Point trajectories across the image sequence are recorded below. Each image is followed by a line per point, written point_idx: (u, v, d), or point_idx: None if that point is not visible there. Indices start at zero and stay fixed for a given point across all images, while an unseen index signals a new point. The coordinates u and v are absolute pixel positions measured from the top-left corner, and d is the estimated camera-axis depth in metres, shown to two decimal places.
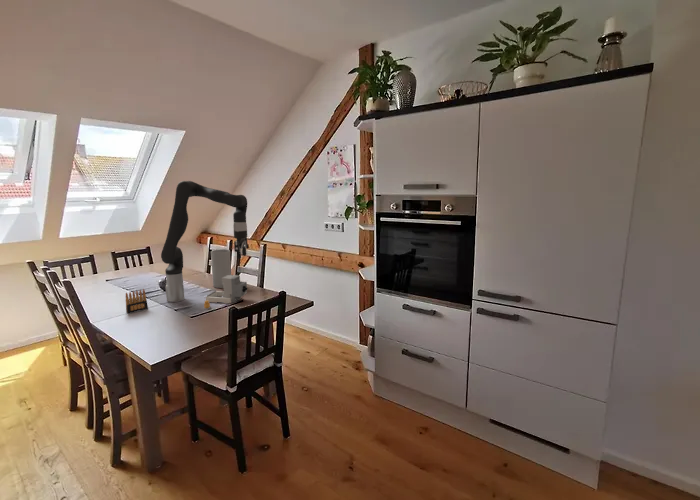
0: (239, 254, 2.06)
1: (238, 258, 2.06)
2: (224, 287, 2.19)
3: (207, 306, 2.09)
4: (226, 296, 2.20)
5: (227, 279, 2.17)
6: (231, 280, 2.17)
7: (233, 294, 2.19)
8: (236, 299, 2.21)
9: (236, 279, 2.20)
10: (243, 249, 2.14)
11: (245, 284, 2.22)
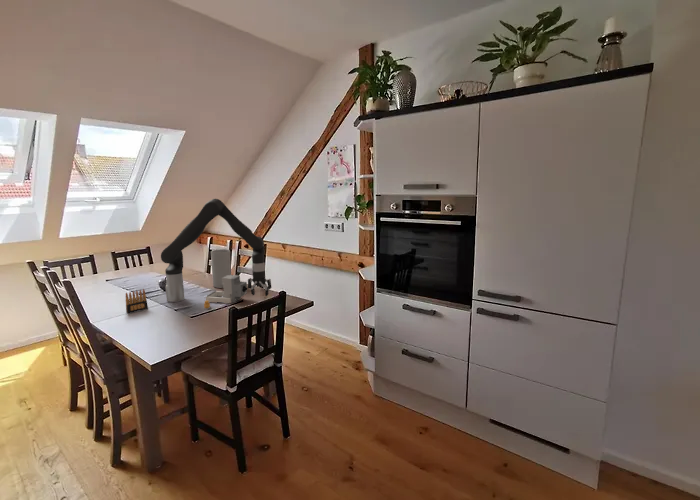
0: None
1: None
2: (224, 287, 2.19)
3: (207, 306, 2.09)
4: (226, 296, 2.20)
5: (227, 279, 2.17)
6: (231, 280, 2.17)
7: (233, 294, 2.19)
8: (236, 299, 2.21)
9: (236, 279, 2.20)
10: (253, 289, 2.19)
11: (245, 284, 2.22)
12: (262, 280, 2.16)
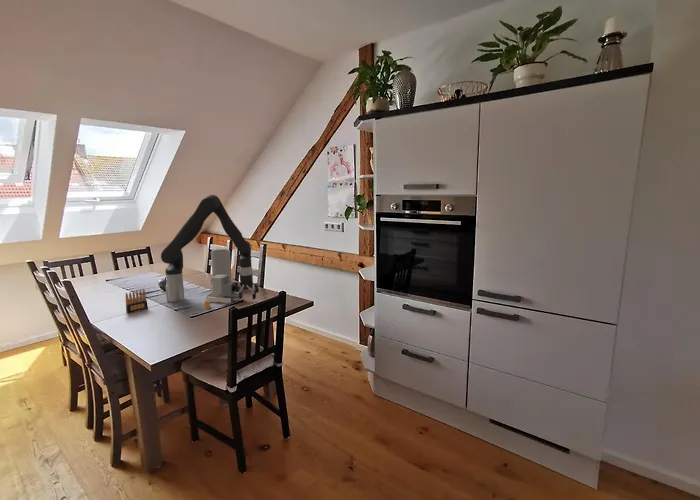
0: None
1: None
2: (213, 287, 2.19)
3: (207, 306, 2.09)
4: (215, 296, 2.20)
5: (216, 279, 2.18)
6: (220, 279, 2.18)
7: (223, 293, 2.19)
8: None
9: (225, 278, 2.21)
10: (241, 293, 2.21)
11: (234, 283, 2.23)
12: (249, 284, 2.18)
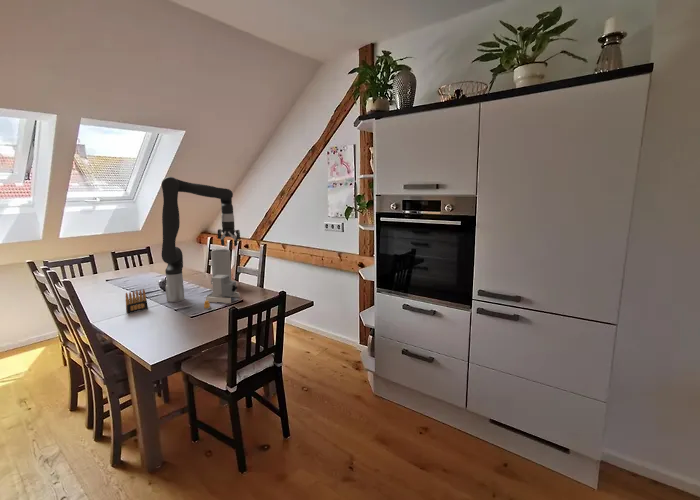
0: None
1: (236, 245, 2.29)
2: (213, 287, 2.19)
3: (207, 306, 2.09)
4: (216, 296, 2.20)
5: (216, 279, 2.18)
6: (221, 280, 2.18)
7: (223, 294, 2.19)
8: None
9: (225, 279, 2.21)
10: (223, 239, 2.30)
11: (235, 283, 2.23)
12: (231, 230, 2.27)
